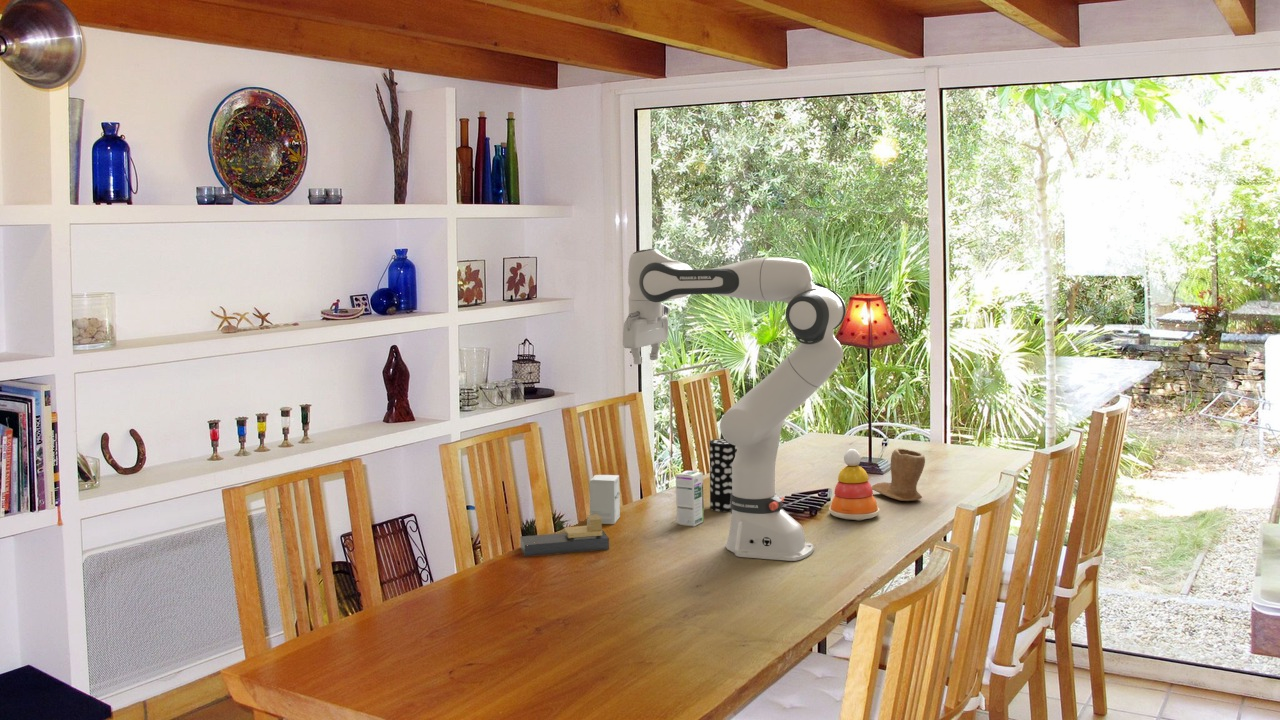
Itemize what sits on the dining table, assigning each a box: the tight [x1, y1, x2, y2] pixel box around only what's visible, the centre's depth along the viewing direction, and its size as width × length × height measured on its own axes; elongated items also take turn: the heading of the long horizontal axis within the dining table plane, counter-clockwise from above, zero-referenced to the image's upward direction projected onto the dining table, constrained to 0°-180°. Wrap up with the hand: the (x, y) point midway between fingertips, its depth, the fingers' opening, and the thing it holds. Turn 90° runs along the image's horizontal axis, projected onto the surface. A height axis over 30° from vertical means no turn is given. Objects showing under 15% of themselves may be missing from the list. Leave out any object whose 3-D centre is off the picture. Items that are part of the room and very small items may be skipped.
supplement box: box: [589, 474, 621, 525], centre depth 314 cm, size 7×7×13 cm
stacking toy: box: [828, 448, 880, 521], centre depth 314 cm, size 14×14×20 cm
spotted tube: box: [709, 438, 738, 513], centre depth 325 cm, size 8×8×20 cm
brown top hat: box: [871, 447, 926, 502], centre depth 334 cm, size 15×12×15 cm
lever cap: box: [563, 514, 603, 538], centre depth 288 cm, size 9×6×4 cm, turn 104°
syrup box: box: [675, 470, 705, 527], centre depth 310 cm, size 6×6×14 cm
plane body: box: [520, 529, 610, 557], centre depth 288 cm, size 22×8×3 cm, turn 104°
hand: (646, 361), depth 295 cm, fingers open, 8 cm apart
